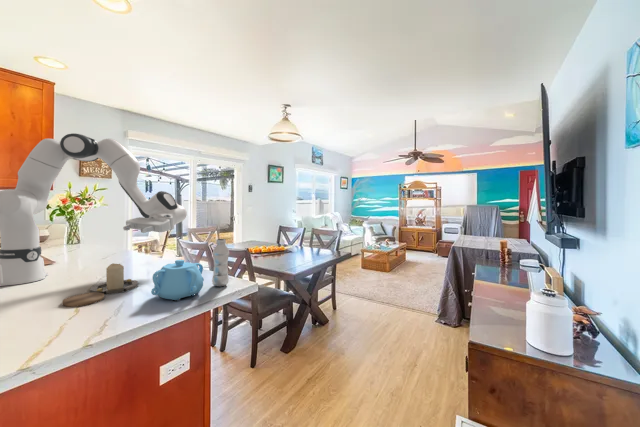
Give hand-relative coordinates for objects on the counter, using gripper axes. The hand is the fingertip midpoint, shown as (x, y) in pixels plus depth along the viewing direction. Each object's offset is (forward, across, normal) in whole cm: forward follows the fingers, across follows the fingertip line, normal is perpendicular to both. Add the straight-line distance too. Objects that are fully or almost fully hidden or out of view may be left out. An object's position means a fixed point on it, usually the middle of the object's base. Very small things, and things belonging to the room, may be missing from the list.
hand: (133, 229), depth 117 cm
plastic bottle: (-1, +41, +21) cm, 46 cm away
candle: (+15, +3, +20) cm, 25 cm away
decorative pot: (+14, +33, +18) cm, 41 cm away
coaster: (+28, +7, +16) cm, 33 cm away
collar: (+15, +3, +20) cm, 25 cm away
